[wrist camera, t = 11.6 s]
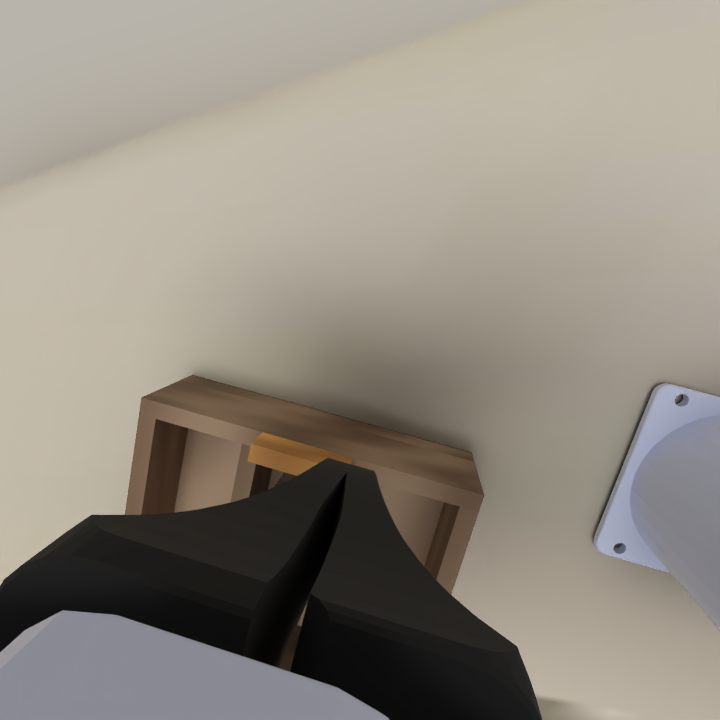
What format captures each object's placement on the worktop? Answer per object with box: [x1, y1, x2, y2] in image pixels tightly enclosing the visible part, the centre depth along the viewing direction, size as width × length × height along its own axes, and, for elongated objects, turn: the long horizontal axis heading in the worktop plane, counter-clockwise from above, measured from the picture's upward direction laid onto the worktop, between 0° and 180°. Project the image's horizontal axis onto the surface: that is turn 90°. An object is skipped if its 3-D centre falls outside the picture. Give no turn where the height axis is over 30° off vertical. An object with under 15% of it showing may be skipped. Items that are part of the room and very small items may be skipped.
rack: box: [125, 375, 484, 672], centre depth 20 cm, size 14×11×5 cm
